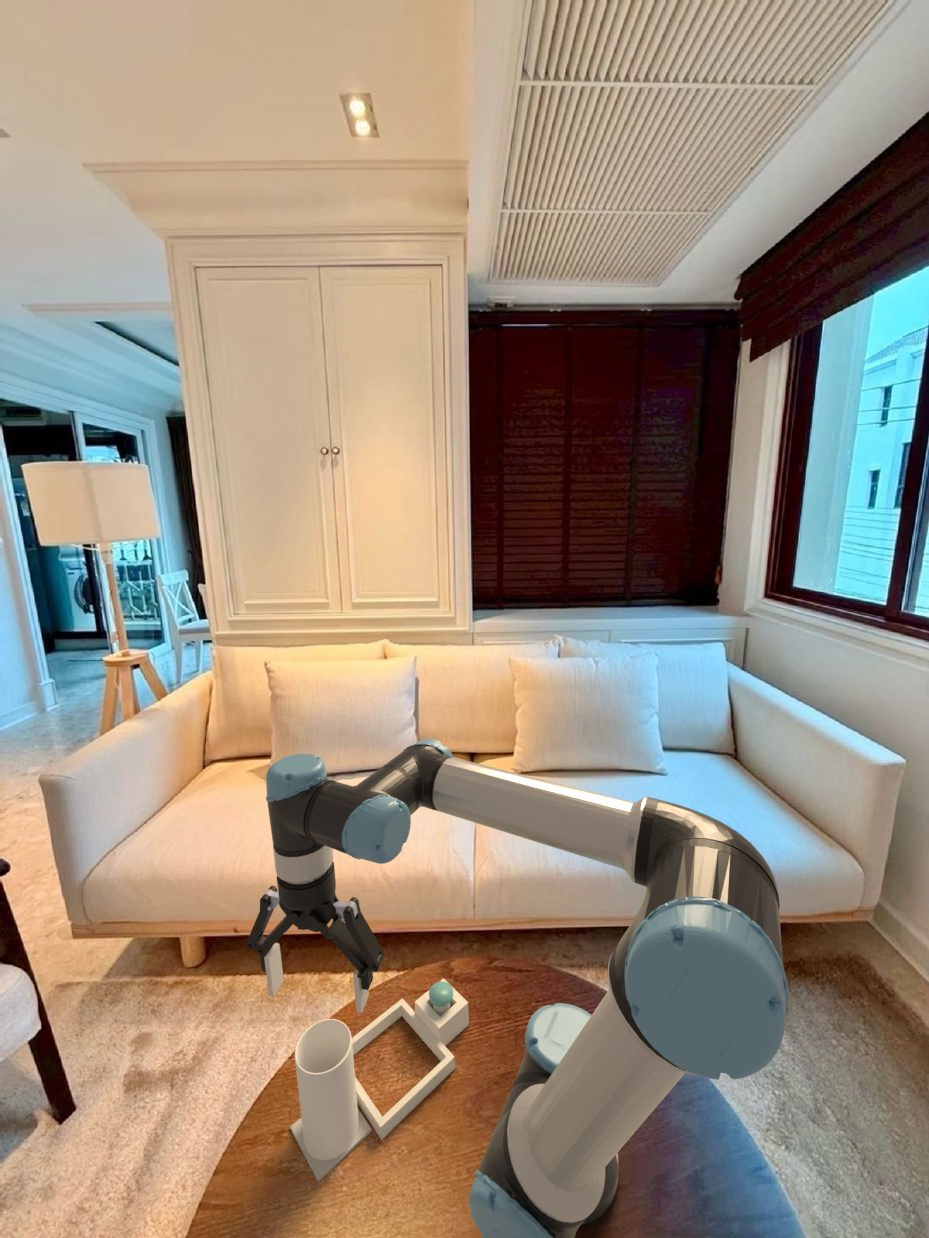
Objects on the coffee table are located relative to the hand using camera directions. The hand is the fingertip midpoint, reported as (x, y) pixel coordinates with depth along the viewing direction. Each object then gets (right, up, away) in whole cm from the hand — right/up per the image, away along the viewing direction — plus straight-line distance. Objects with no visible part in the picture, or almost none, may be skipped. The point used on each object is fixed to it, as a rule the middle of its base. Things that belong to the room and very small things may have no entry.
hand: (318, 995), depth 75 cm
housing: (+11, -22, +17) cm, 30 cm away
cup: (+1, -24, +5) cm, 25 cm away
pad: (0, -25, +6) cm, 25 cm away
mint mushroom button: (+17, -19, +21) cm, 33 cm away
